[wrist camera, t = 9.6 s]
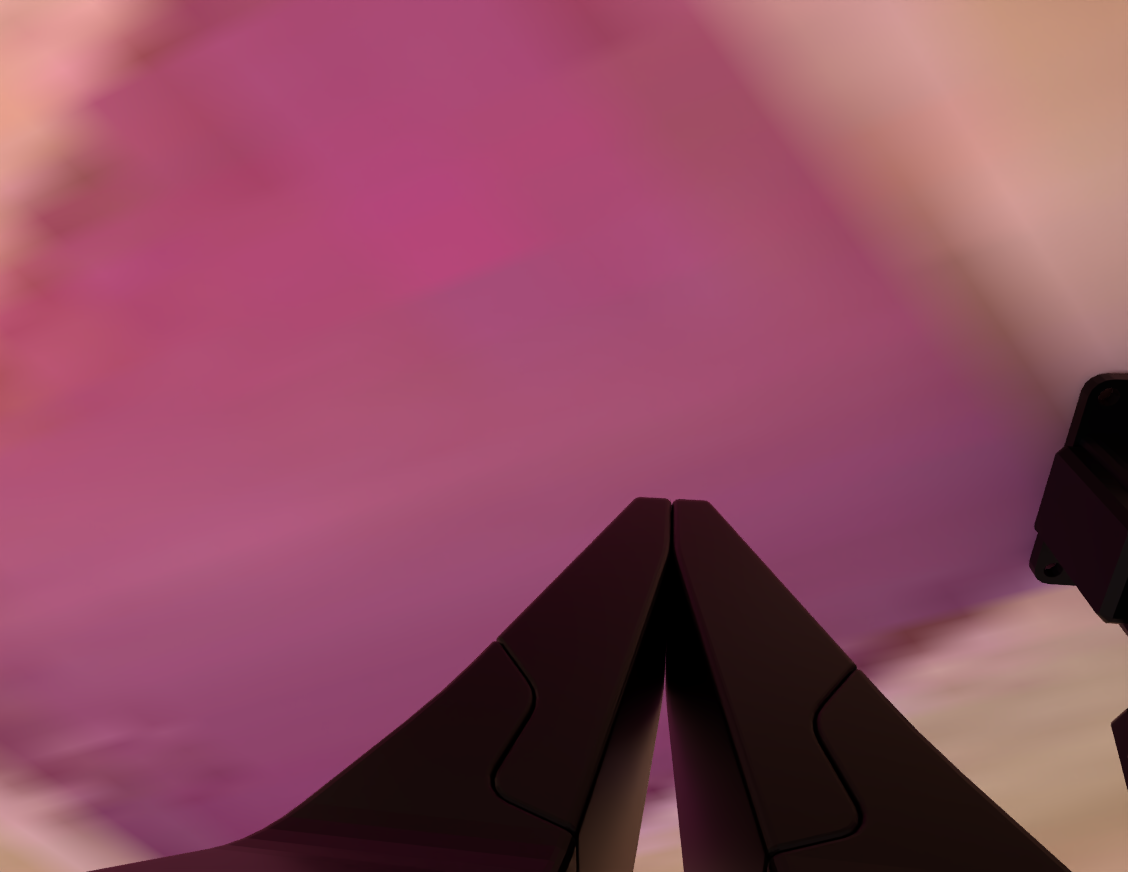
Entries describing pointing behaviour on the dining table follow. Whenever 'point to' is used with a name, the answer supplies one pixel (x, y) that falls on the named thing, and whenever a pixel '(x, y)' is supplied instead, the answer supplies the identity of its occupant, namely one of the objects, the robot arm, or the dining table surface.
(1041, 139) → the dining table surface
